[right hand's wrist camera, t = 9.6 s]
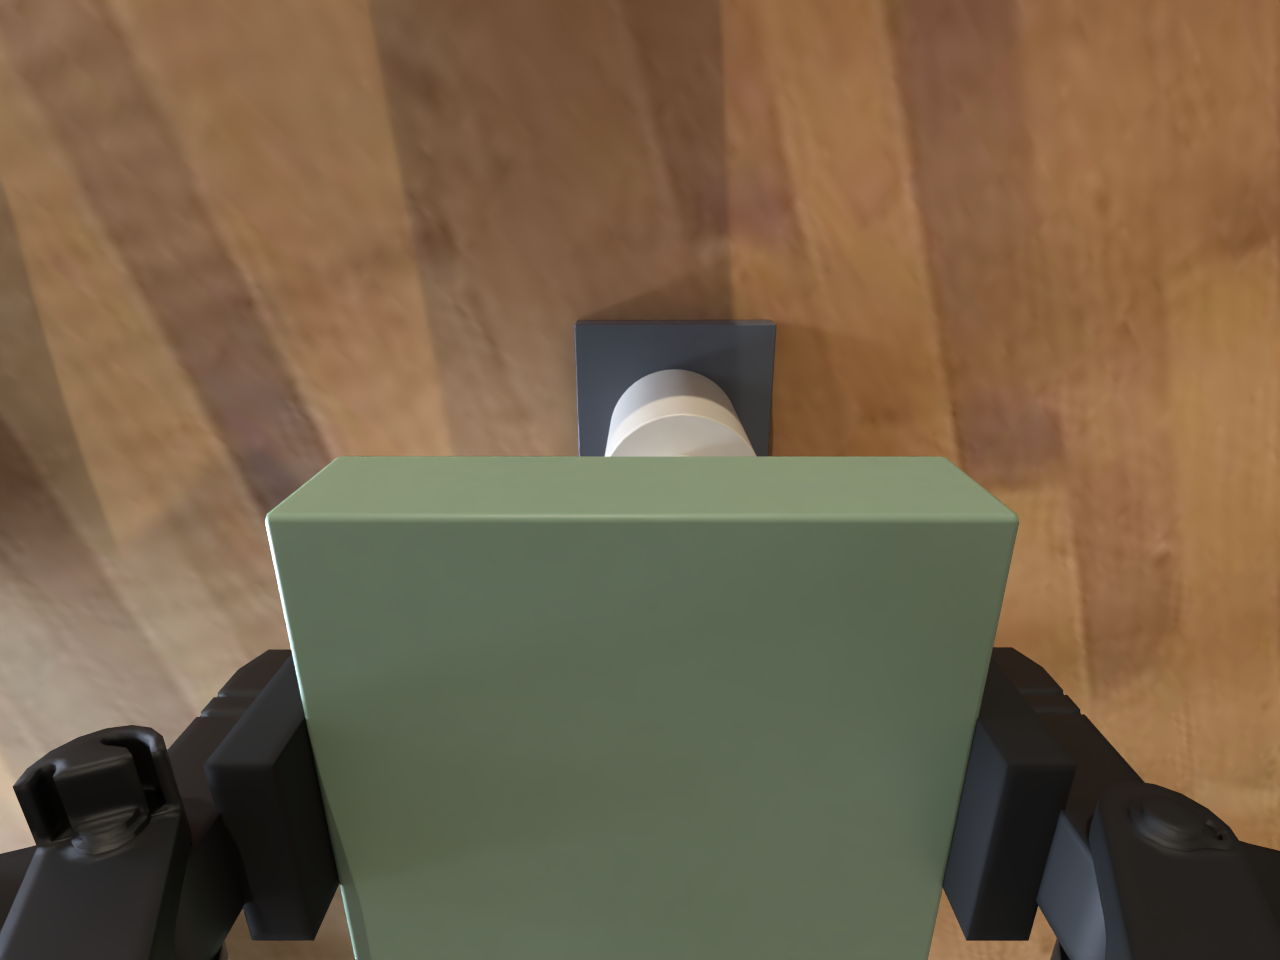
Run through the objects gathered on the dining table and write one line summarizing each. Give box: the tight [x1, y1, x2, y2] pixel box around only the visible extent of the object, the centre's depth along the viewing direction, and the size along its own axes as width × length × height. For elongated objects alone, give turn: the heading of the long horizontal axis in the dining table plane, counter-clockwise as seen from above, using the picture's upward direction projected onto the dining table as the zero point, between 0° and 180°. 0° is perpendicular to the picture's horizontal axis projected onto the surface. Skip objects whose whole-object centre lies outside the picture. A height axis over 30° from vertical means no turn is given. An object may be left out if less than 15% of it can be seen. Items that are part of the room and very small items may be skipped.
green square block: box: [265, 456, 1019, 960], centre depth 11 cm, size 8×8×4 cm
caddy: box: [574, 320, 776, 457], centre depth 32 cm, size 9×26×12 cm, turn 0°
